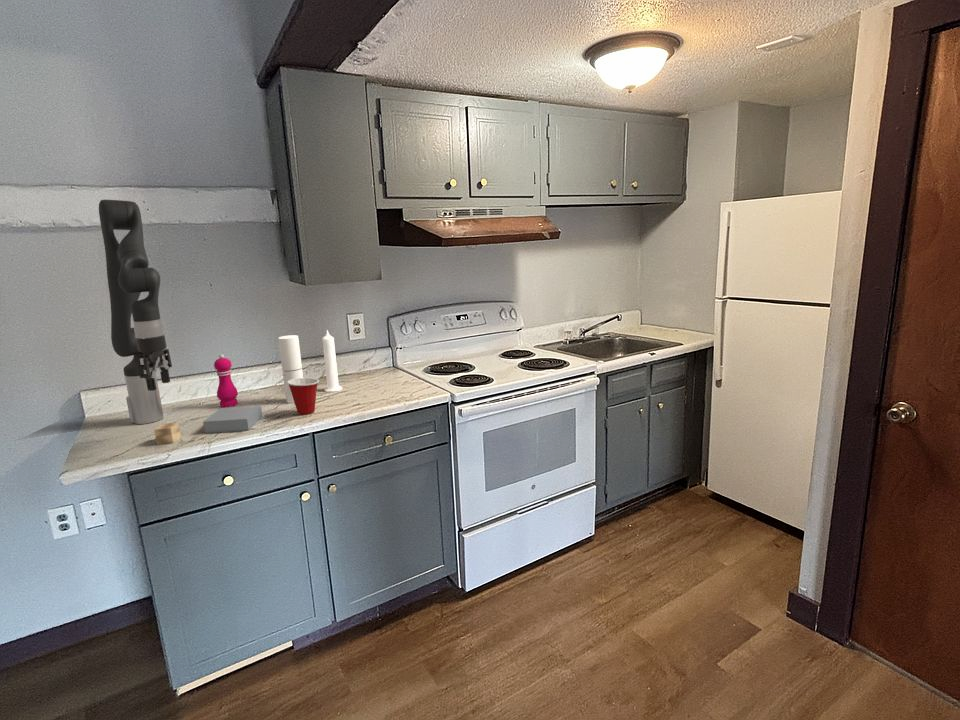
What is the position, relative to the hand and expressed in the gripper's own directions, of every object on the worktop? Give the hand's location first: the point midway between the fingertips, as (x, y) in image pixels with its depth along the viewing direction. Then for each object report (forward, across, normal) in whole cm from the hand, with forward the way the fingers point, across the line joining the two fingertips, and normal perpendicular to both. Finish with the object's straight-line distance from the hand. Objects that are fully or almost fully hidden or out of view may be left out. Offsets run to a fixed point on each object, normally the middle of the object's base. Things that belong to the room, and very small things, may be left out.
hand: (159, 386), depth 165 cm
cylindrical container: (+18, -37, +30) cm, 51 cm away
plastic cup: (+18, -21, +38) cm, 47 cm away
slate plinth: (+18, -12, +16) cm, 27 cm away
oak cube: (+18, 0, 0) cm, 18 cm away
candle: (+18, -49, +42) cm, 67 cm away
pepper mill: (+18, -36, +5) cm, 40 cm away
